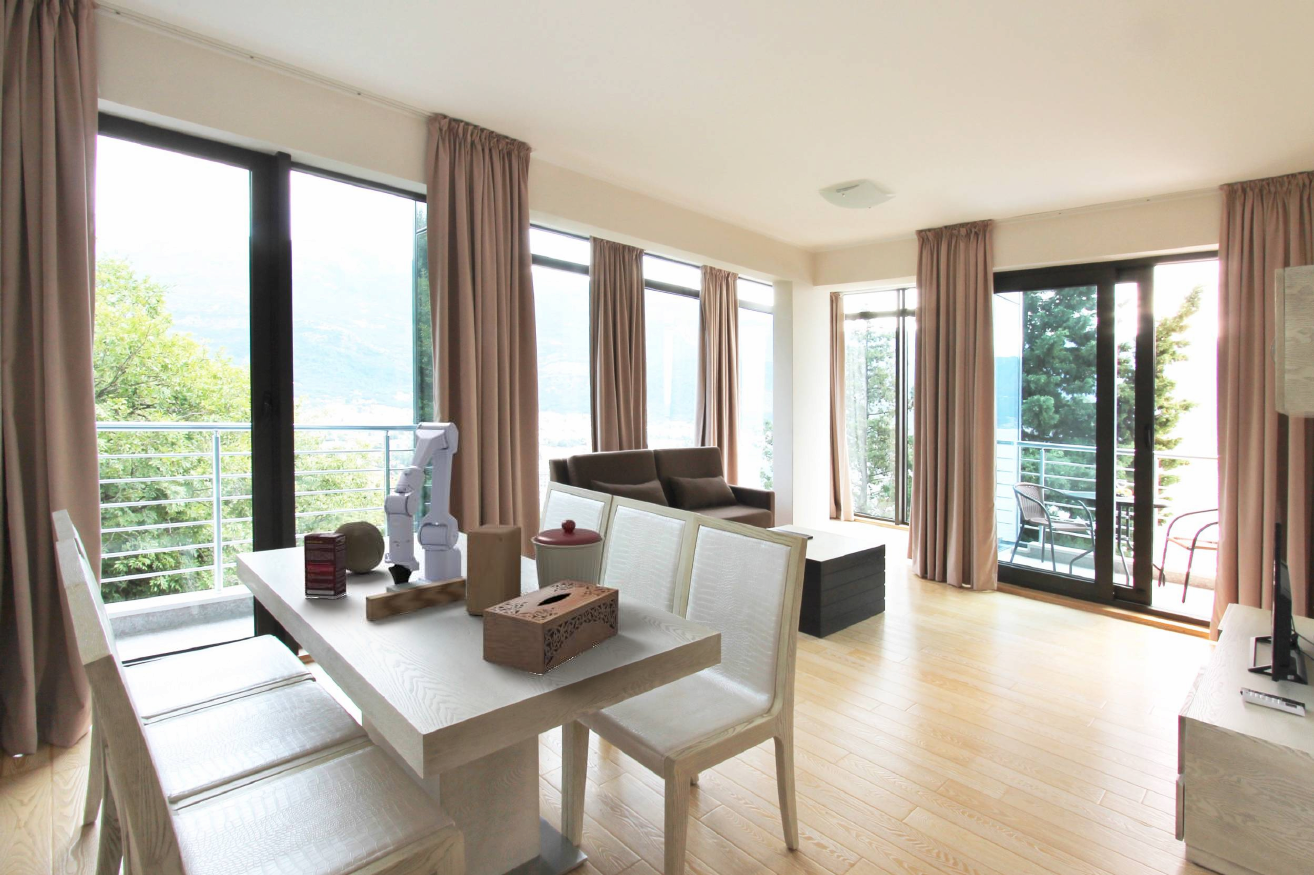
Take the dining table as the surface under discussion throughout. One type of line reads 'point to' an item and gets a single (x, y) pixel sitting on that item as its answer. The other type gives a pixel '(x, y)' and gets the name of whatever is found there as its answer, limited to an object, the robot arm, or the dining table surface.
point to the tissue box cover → (549, 625)
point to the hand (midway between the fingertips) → (401, 594)
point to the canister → (567, 555)
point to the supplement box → (325, 565)
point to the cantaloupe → (362, 546)
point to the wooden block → (493, 566)
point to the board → (415, 598)
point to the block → (405, 585)
